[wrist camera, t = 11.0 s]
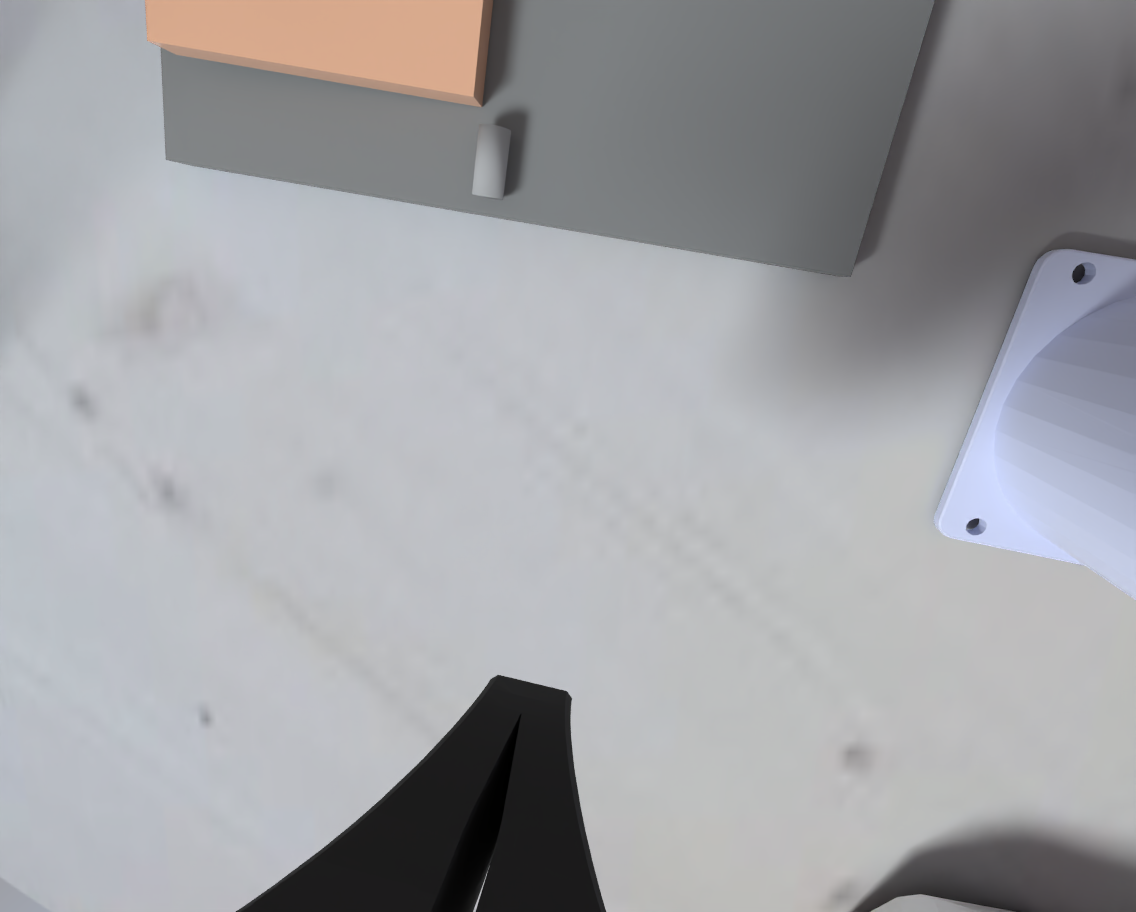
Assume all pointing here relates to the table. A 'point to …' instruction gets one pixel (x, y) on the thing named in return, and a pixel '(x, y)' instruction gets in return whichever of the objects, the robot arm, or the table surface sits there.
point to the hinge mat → (603, 124)
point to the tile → (339, 40)
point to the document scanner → (931, 905)
